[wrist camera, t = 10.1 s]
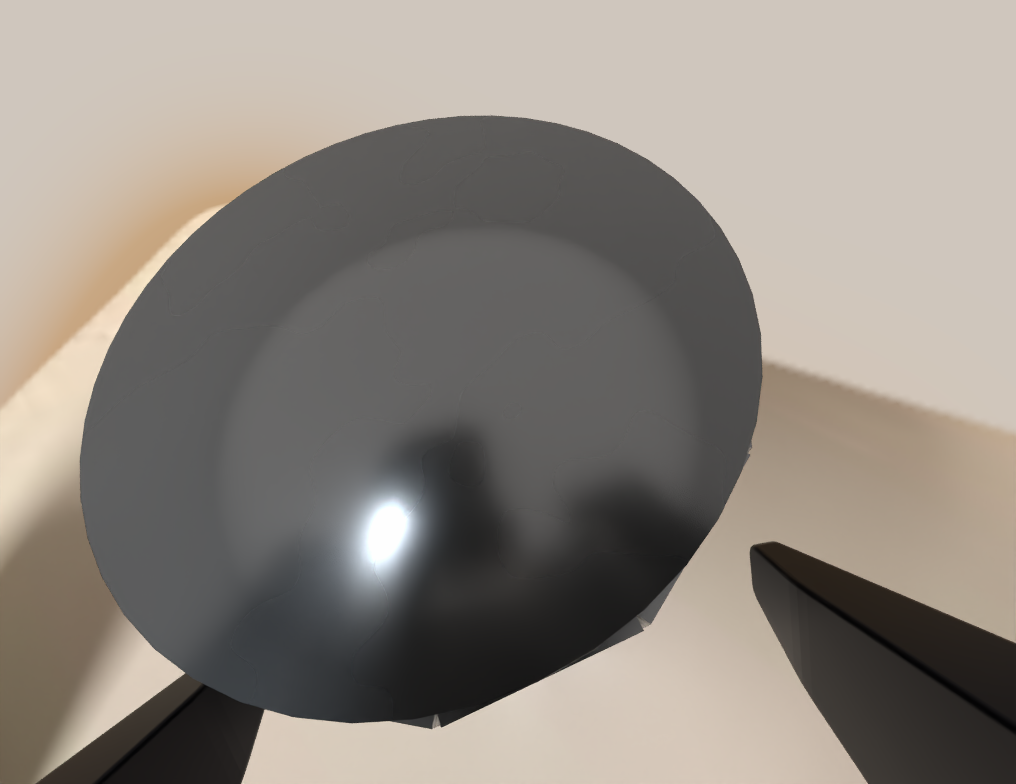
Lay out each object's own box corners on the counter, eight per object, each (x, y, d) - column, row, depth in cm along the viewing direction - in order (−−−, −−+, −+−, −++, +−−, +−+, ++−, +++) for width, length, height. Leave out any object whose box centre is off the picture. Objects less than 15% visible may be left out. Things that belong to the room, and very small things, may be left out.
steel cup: (554, 731, 14) (422, 1026, 3) (380, 572, 17) (-27, 407, 6) (681, 523, 16) (886, 230, 5) (508, 412, 19) (396, 69, 8)
